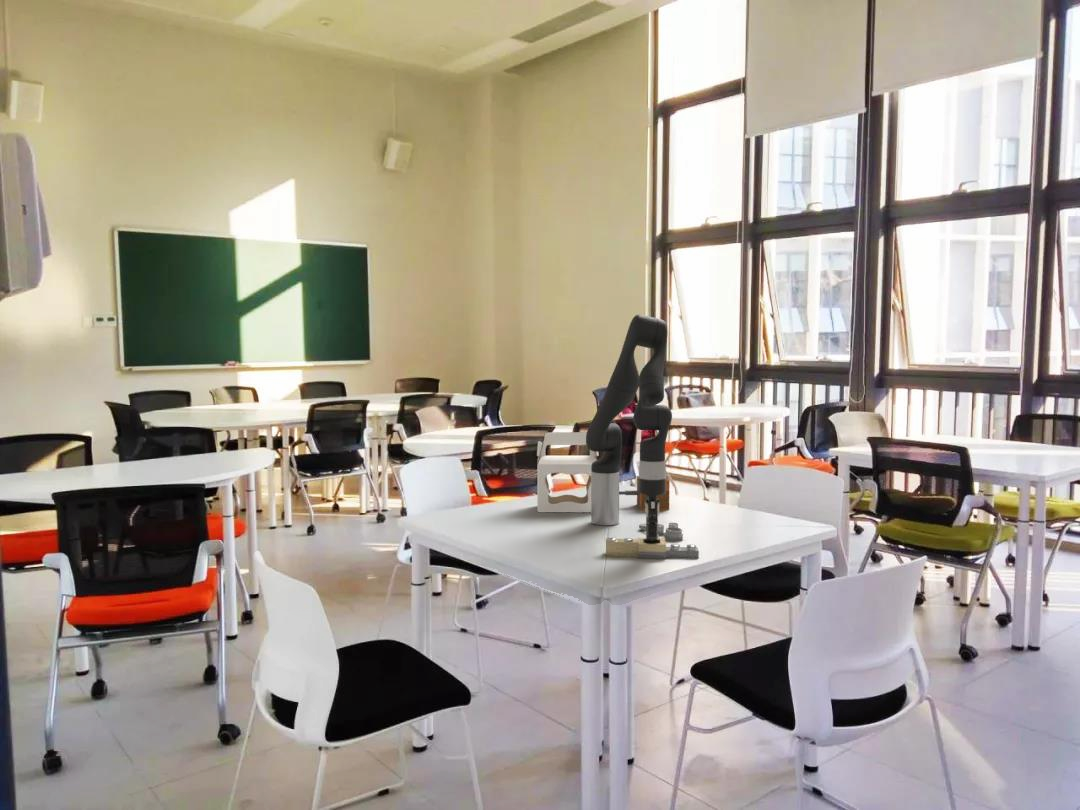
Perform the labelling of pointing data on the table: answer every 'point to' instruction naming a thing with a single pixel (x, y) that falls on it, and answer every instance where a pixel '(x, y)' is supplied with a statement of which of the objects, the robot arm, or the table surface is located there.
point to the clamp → (641, 497)
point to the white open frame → (564, 466)
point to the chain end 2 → (672, 552)
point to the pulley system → (668, 531)
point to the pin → (648, 539)
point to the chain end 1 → (632, 546)
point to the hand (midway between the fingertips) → (651, 533)
